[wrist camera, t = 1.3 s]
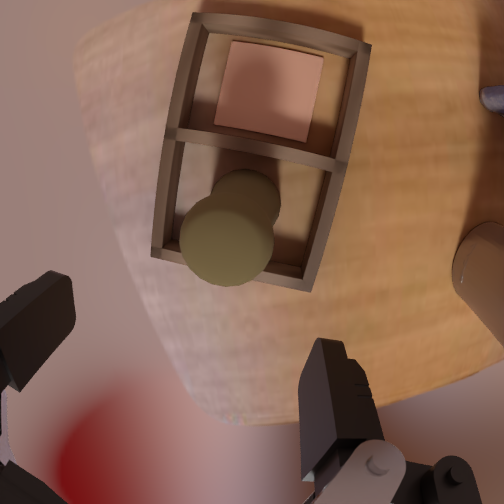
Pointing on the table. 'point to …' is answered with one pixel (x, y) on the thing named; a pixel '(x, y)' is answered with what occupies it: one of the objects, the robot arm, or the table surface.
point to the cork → (232, 229)
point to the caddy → (262, 120)
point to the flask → (493, 99)
